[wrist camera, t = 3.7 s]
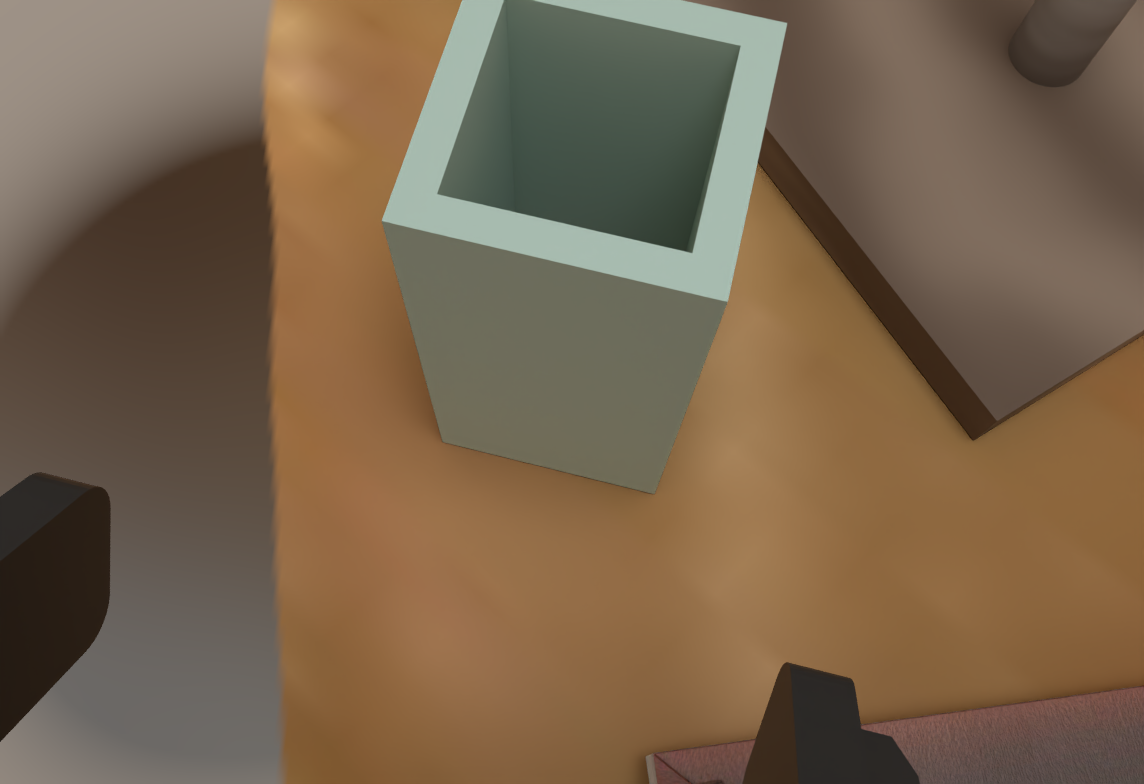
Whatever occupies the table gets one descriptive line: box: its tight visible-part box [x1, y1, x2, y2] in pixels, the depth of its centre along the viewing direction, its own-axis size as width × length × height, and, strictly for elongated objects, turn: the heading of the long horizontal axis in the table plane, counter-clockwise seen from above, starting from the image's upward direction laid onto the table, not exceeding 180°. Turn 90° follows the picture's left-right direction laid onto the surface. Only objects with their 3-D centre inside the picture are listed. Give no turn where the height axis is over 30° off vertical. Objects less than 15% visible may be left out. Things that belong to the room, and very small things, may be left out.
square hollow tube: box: [382, 0, 787, 494], centre depth 22 cm, size 6×6×11 cm
